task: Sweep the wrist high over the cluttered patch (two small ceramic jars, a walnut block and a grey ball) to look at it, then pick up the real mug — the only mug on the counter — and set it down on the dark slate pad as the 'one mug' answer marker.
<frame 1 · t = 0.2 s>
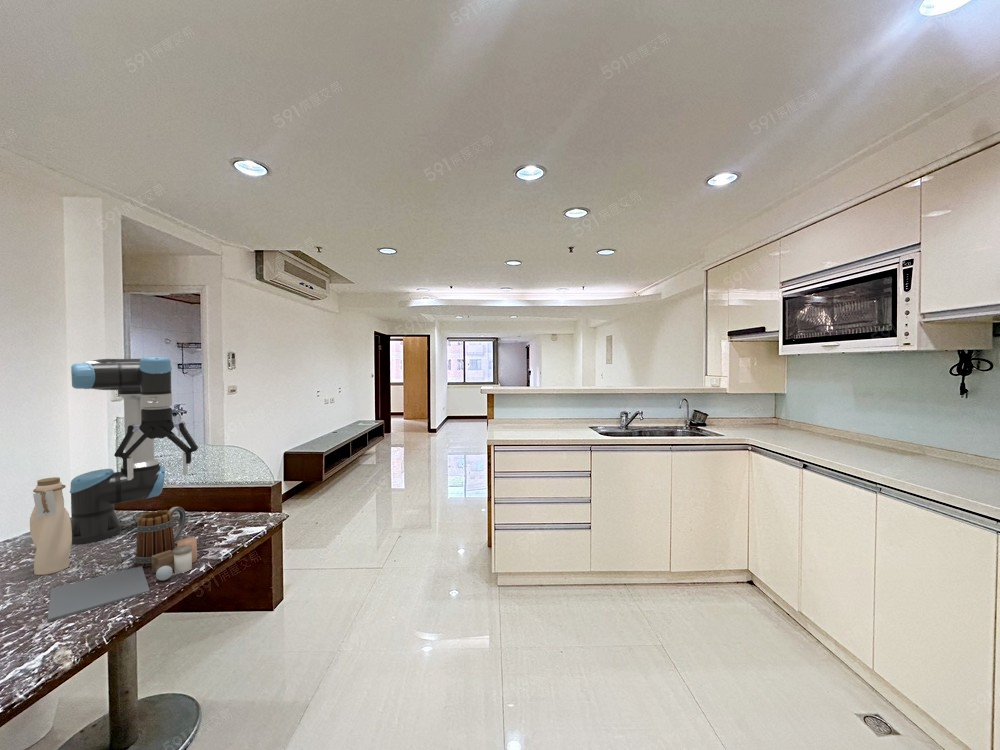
hand: (158, 476, 136), 29 cm above the table, fingers open, 13 cm apart
mug: (163, 557, 146), on the table
jar b: (183, 570, 137), on the table
walnut block: (165, 570, 137), on the table
cream corked bottle: (53, 570, 137), on the table
slate pad: (100, 591, 124), on the table
grey ball: (164, 573, 131), point 2 cm above the table
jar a: (187, 561, 142), on the table
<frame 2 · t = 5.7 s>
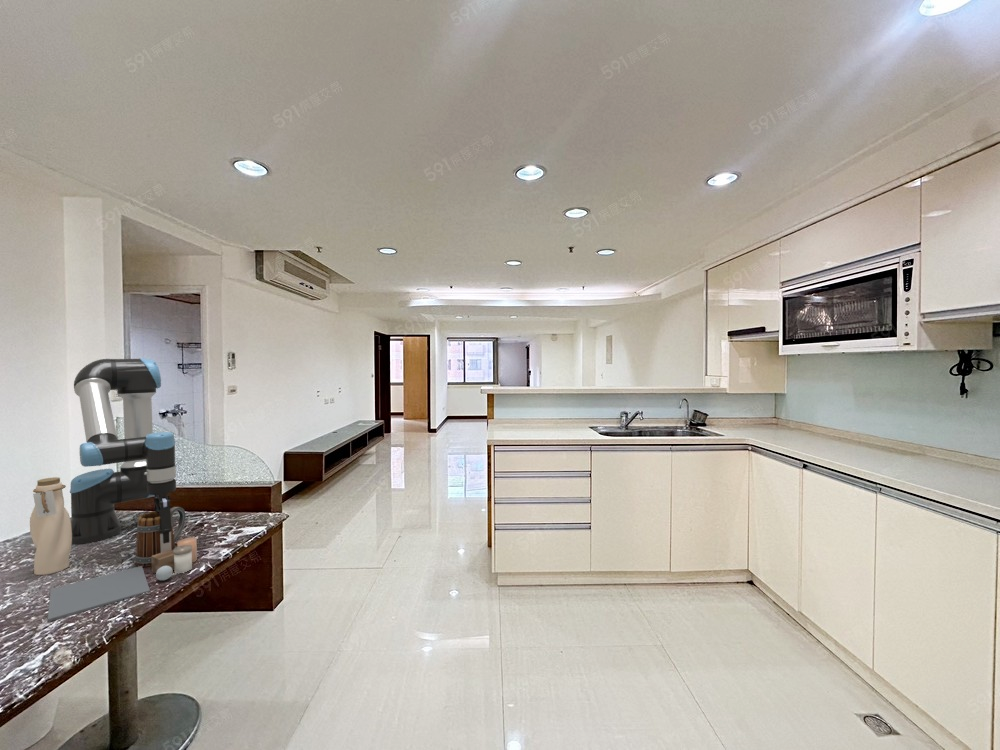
hand: (163, 547, 146), 3 cm above the table, fingers open, 11 cm apart
mug: (163, 557, 146), on the table, touching gripper
everything else where it was.
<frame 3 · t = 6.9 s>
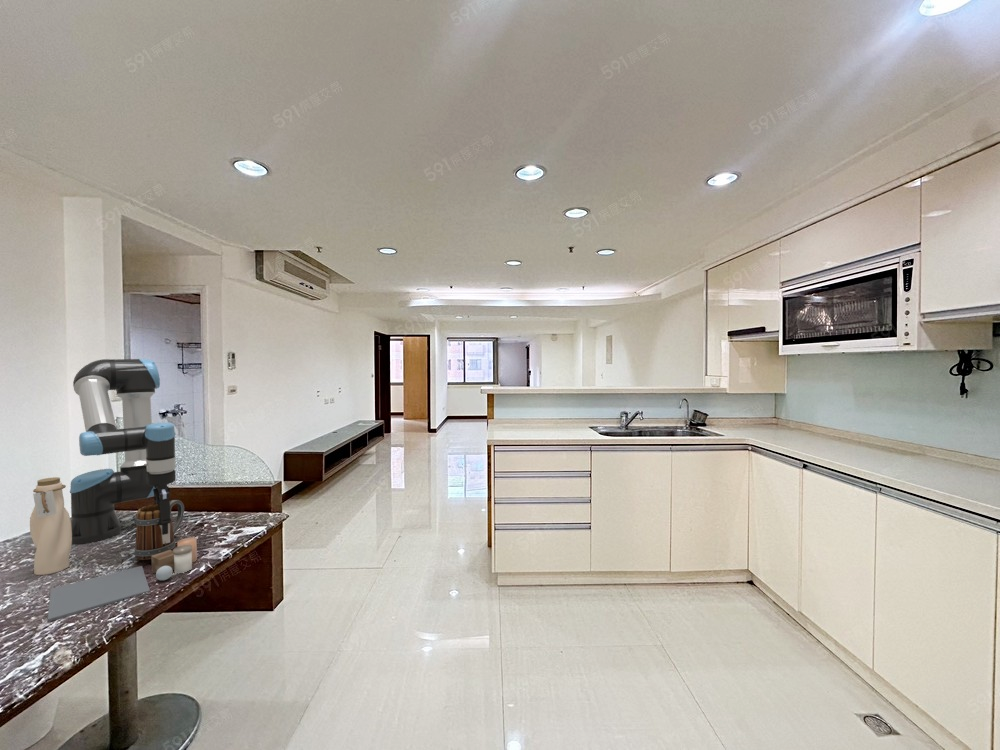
hand: (162, 538, 146), 6 cm above the table, fingers closed on mug, 9 cm apart
mug: (162, 549, 147), point 2 cm above the table, touching gripper
everything else where it was.
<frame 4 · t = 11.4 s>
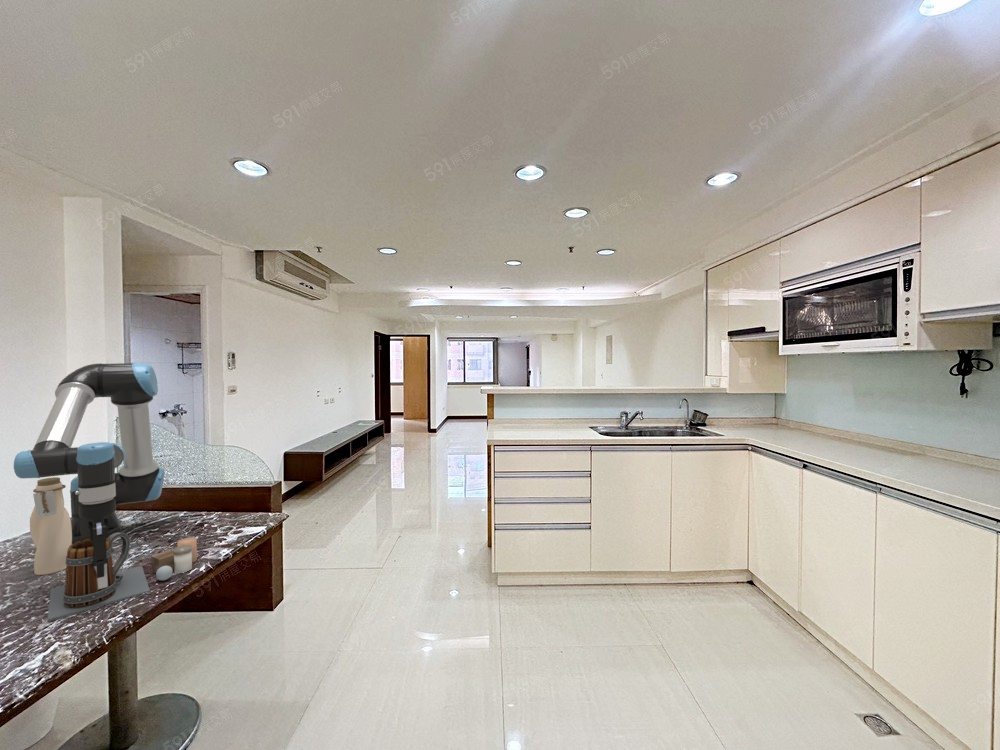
hand: (100, 581, 122), 4 cm above the table, fingers open, 9 cm apart
mug: (100, 593, 123), resting on slate pad, touching gripper
everything else where it was.
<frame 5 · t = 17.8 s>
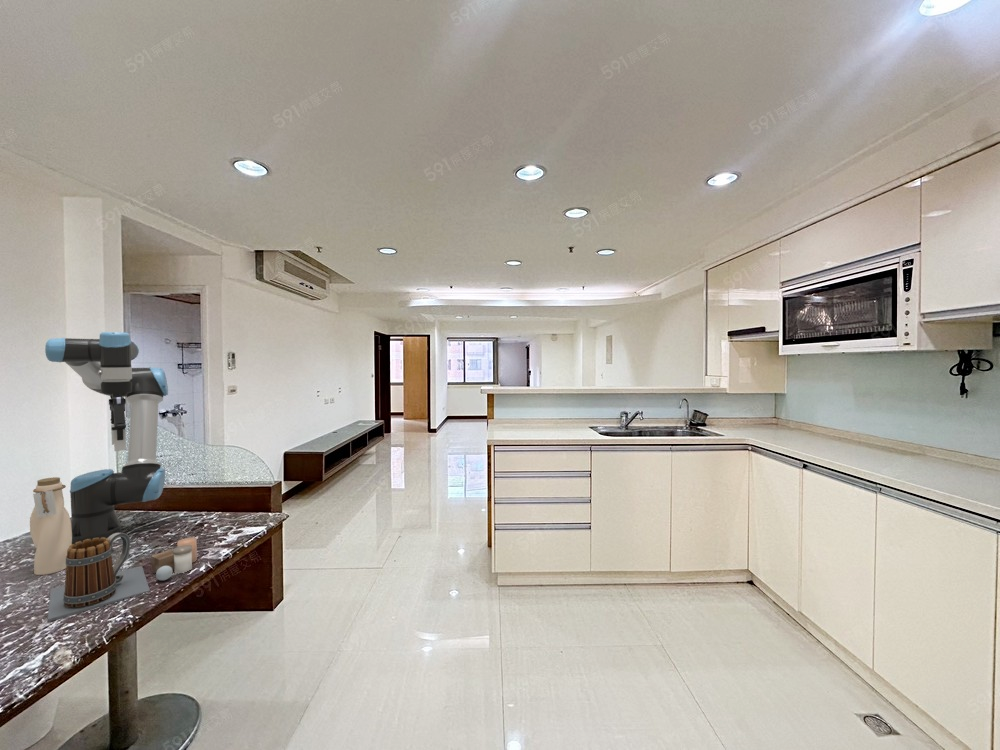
hand: (118, 447, 142), 37 cm above the table, fingers open, 13 cm apart
mug: (100, 593, 123), resting on slate pad
everything else where it was.
at the end: mug inside the target area on the slate pad (2.6 cm from its centre), point 0.4 cm above the slate pad's base; mug tilted 0°; the gripper is holding nothing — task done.
